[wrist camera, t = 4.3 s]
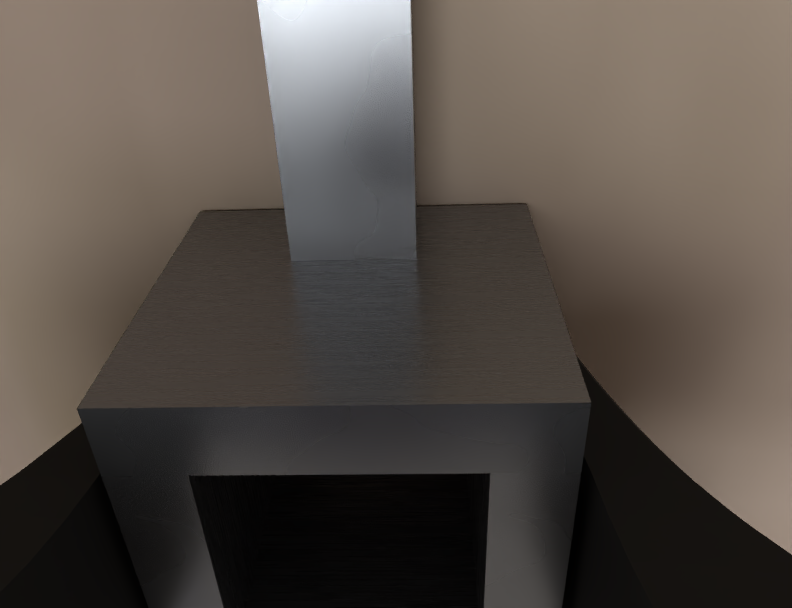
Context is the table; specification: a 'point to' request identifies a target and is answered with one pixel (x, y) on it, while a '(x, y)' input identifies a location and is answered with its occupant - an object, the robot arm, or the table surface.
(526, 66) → the table surface
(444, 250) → the link
